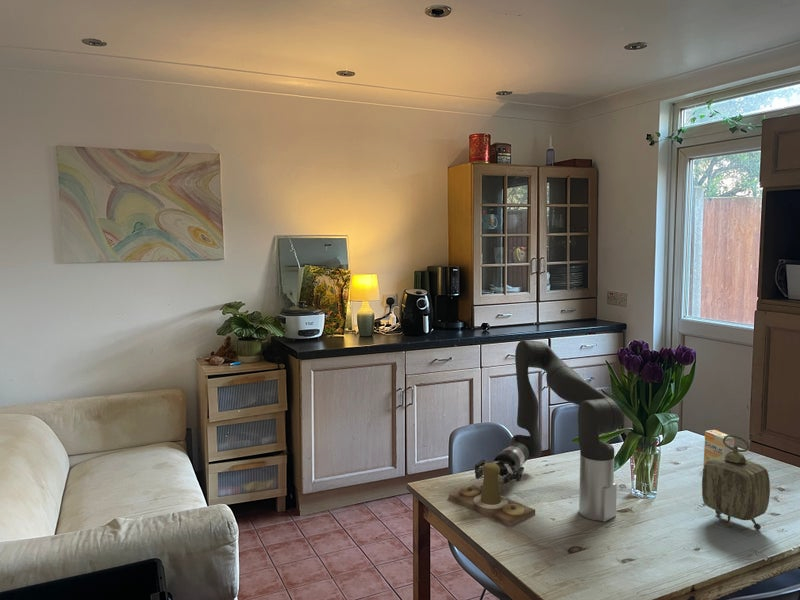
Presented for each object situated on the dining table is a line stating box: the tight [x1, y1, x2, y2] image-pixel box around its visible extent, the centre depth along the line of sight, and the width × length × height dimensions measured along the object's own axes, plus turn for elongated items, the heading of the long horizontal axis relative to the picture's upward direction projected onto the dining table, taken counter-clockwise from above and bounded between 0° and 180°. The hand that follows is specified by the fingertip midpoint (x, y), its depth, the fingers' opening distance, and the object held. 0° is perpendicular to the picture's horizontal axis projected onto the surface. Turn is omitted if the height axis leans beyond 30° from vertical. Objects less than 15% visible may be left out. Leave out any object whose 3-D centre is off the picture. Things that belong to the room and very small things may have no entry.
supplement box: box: [702, 429, 735, 468], centre depth 201 cm, size 8×5×13 cm, turn 17°
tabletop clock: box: [701, 434, 771, 531], centre depth 162 cm, size 14×9×25 cm, turn 32°
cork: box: [481, 462, 502, 505], centre depth 175 cm, size 6×6×11 cm
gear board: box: [448, 484, 536, 527], centre depth 175 cm, size 24×11×3 cm, turn 40°
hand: (490, 478), depth 175 cm, fingers open, 8 cm apart
